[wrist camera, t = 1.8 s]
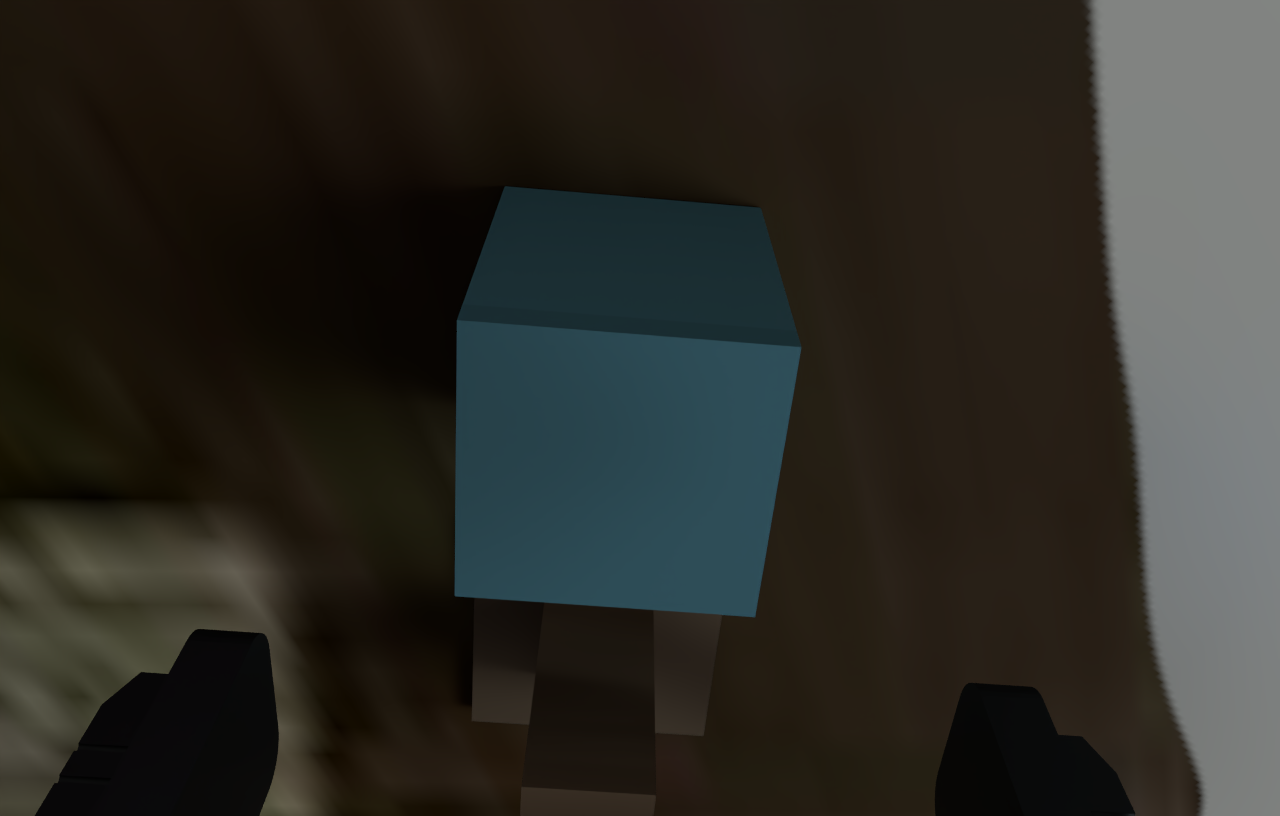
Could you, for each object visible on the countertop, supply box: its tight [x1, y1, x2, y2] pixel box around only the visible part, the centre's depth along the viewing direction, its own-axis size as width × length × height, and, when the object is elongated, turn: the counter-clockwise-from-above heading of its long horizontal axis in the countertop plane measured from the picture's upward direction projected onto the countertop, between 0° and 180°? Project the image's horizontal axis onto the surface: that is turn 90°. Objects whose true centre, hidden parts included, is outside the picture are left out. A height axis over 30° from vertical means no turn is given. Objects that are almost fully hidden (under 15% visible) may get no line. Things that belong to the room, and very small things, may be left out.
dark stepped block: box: [472, 598, 722, 816], centre depth 25 cm, size 6×6×6 cm
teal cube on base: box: [455, 186, 801, 617], centre depth 21 cm, size 5×5×7 cm
